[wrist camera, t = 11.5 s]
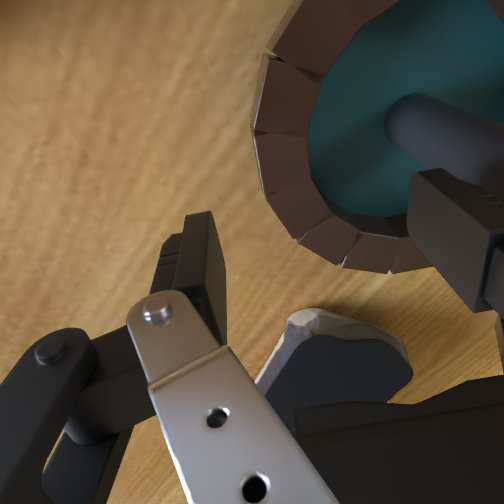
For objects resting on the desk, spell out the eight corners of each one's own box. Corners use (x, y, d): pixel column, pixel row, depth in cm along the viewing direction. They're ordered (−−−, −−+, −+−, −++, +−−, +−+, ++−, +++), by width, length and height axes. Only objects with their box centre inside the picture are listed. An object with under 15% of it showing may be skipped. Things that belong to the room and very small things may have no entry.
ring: (621, -130, 13) (688, -154, 11) (527, 224, 21) (557, 244, 19) (220, -40, 13) (220, -48, 12) (276, 270, 21) (281, 295, 19)
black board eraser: (301, 446, 33) (309, 490, 30) (213, 432, 31) (213, 477, 28) (405, 321, 26) (430, 362, 23) (298, 290, 23) (309, 331, 20)
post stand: (528, -34, 15) (1015, -112, 6) (486, 189, 20) (702, 332, 11) (288, 16, 15) (384, 19, 6) (309, 222, 21) (377, 386, 12)
